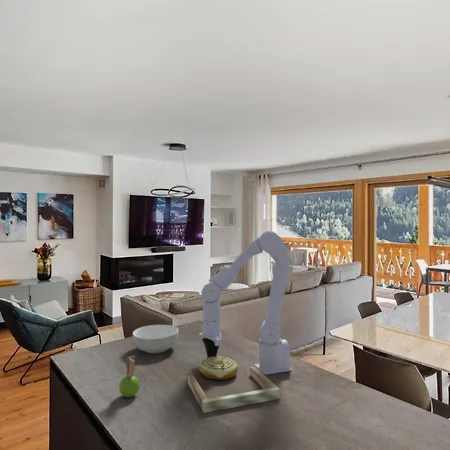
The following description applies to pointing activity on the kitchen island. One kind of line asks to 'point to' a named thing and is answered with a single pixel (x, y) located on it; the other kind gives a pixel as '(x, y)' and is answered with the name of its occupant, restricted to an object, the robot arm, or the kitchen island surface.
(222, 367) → the decorated donut
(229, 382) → the kitchen island surface
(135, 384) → the snail figurine
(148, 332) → the cereal bowl
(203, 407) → the wooden bar frame
